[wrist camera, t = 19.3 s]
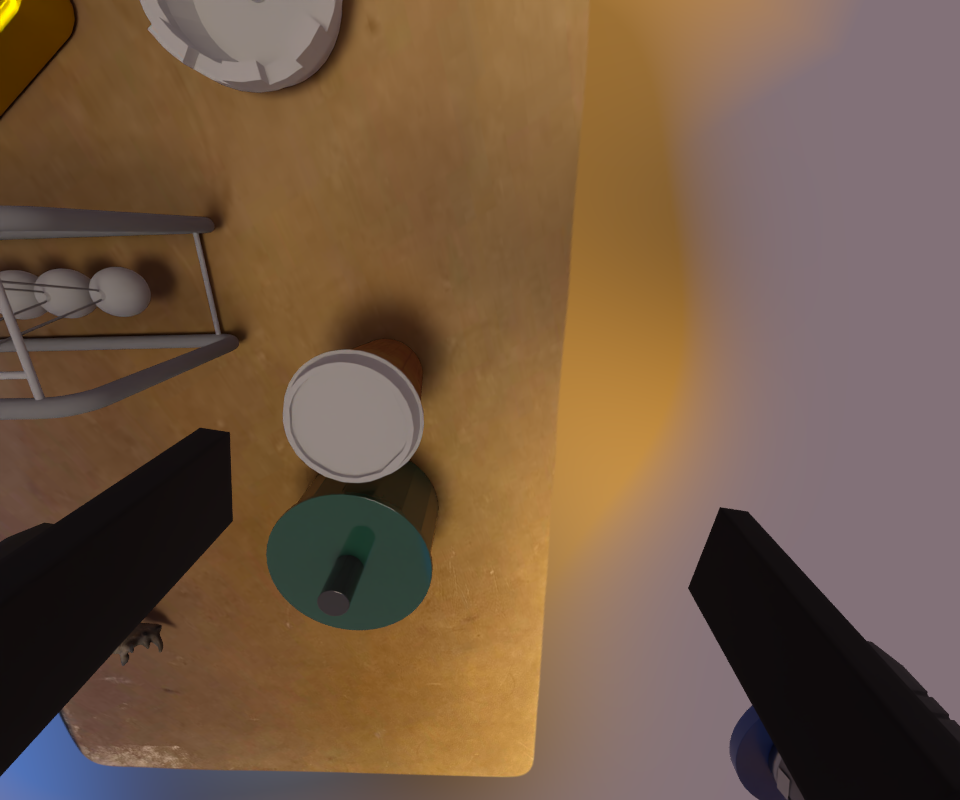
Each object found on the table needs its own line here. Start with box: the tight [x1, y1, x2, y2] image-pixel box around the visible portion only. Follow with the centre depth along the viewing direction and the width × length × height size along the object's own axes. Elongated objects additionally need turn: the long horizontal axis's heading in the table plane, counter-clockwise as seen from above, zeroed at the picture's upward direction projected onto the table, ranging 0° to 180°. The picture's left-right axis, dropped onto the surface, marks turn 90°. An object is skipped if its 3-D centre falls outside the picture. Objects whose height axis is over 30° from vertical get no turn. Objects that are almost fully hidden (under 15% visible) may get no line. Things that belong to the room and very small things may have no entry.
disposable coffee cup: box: [283, 339, 424, 483], centre depth 35 cm, size 10×10×12 cm
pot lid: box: [266, 491, 433, 630], centre depth 36 cm, size 14×14×5 cm
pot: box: [298, 461, 439, 552], centre depth 42 cm, size 13×13×8 cm
